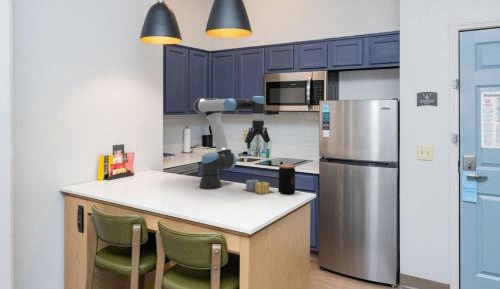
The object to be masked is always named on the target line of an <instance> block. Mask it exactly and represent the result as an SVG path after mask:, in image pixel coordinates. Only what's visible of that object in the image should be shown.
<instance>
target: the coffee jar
mask: <svg viewBox="0 0 500 289" xmlns="http://www.w3.org/2000/svg"><path fill="white" fill-rule="evenodd" d="M295 168H296V165H295V164H291V163H290V164H287V163H282V164H279V165H278V193H279V194H281V195H284V194H285V195H287V196H288V195H289V196H290V195H294V194H295V193H296V169H295ZM285 195H284V196H285Z"/></svg>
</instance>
